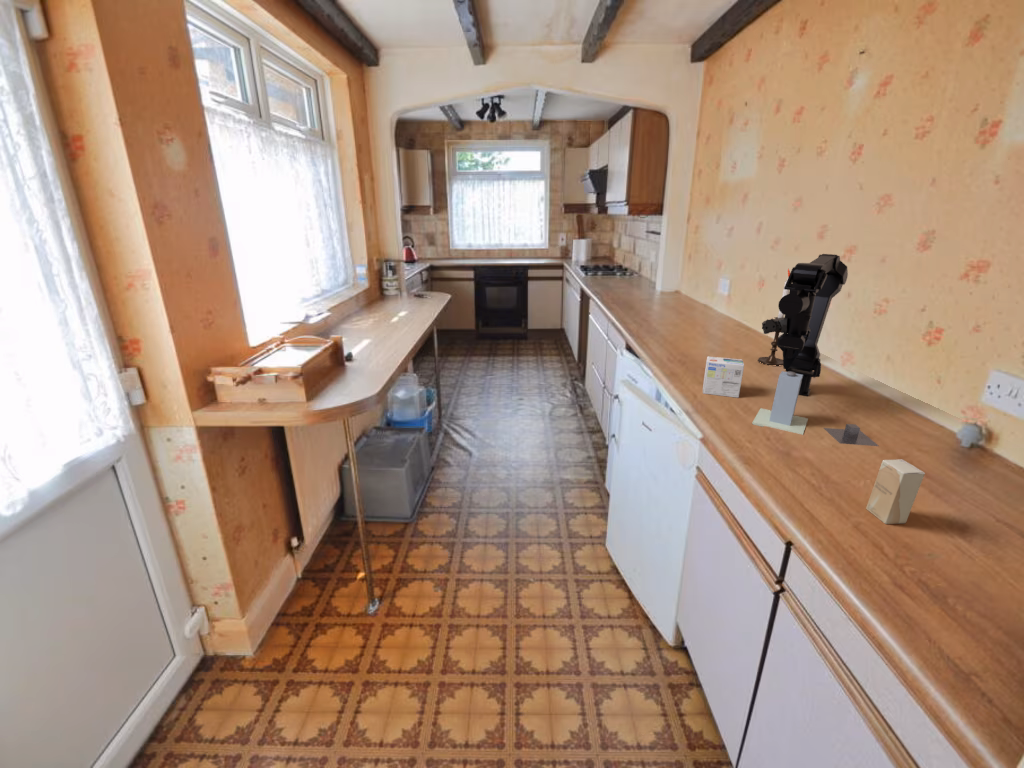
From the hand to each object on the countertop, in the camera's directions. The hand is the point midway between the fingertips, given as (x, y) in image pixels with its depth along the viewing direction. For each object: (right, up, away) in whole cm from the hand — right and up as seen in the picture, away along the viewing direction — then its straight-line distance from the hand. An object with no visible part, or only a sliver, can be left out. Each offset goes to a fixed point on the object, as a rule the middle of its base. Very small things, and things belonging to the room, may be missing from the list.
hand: (788, 364), depth 138 cm
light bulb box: (-13, -8, +15) cm, 22 cm away
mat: (-5, -16, -6) cm, 18 cm away
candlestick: (+20, +2, +46) cm, 50 cm away
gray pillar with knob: (-5, -15, -6) cm, 17 cm away
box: (-7, -31, -46) cm, 56 cm away
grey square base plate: (+8, -19, -14) cm, 25 cm away
